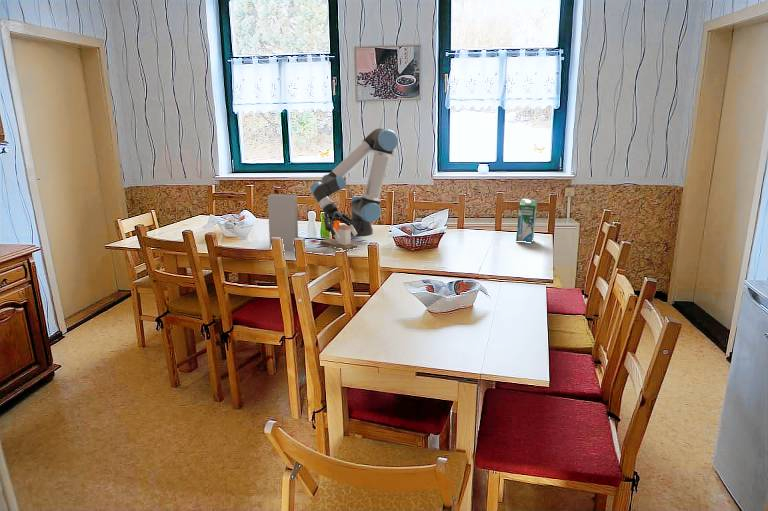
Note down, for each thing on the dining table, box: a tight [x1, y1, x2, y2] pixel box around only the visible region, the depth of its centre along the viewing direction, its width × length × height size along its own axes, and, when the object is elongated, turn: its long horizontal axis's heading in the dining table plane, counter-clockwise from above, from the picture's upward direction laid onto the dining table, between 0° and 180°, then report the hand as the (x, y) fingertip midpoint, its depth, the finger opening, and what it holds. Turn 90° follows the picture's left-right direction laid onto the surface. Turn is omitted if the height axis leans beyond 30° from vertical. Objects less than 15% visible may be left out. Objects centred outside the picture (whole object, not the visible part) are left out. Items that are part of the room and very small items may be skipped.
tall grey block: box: [267, 193, 299, 253], centre depth 273 cm, size 14×6×30 cm, turn 84°
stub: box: [337, 224, 352, 245], centre depth 281 cm, size 4×6×10 cm
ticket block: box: [319, 237, 359, 251], centre depth 286 cm, size 8×22×2 cm, turn 49°
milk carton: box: [515, 198, 538, 243], centre depth 301 cm, size 9×9×25 cm
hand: (347, 237), depth 280 cm, fingers open, 13 cm apart
